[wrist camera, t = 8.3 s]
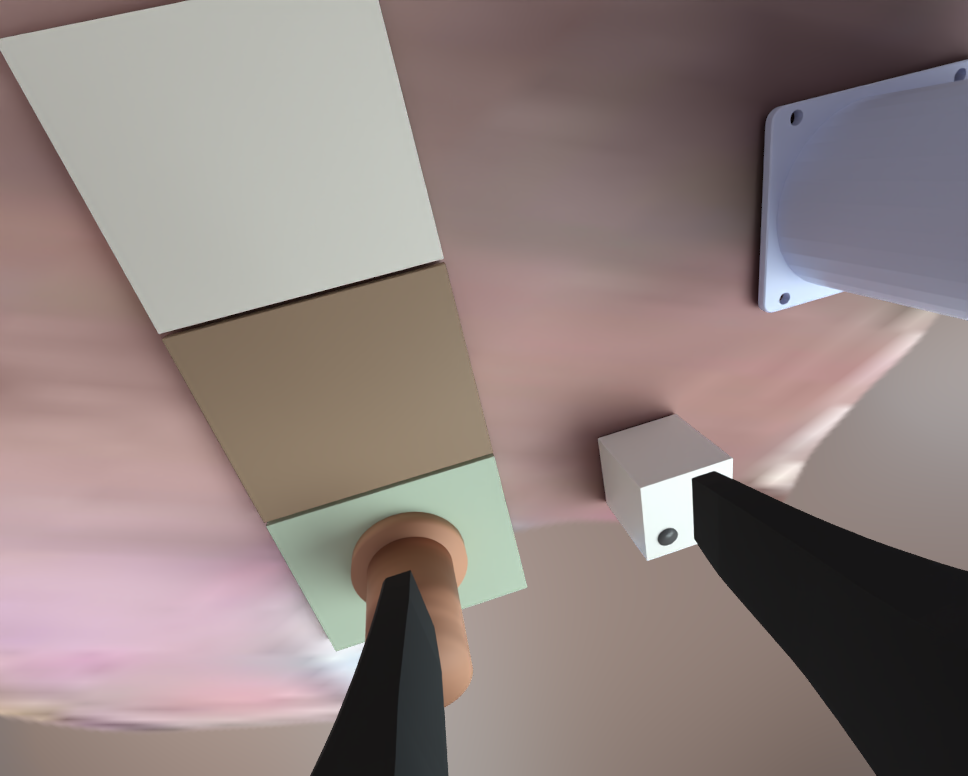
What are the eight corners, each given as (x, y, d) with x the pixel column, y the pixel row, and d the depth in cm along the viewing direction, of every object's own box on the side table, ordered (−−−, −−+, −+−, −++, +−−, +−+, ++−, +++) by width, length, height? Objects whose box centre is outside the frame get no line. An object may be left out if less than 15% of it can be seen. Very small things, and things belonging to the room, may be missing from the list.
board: (369, -29, 14) (368, -37, 13) (524, 579, 25) (527, 587, 24) (7, 44, 13) (-6, 39, 12) (336, 642, 24) (336, 651, 23)
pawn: (449, 497, 21) (473, 607, 15) (475, 578, 23) (504, 699, 18) (334, 533, 20) (318, 659, 15) (372, 612, 23) (370, 746, 17)
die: (675, 413, 22) (733, 458, 19) (678, 479, 24) (732, 532, 20) (597, 438, 22) (641, 488, 18) (606, 503, 24) (647, 561, 20)
